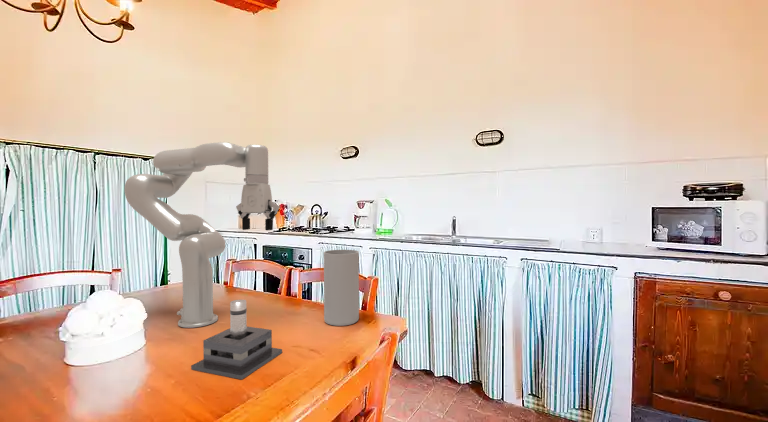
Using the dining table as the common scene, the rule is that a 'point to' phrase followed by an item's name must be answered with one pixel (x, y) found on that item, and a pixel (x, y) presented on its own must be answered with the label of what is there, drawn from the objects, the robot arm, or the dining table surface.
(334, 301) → the cylinder vase
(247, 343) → the collar stand
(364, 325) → the dining table surface
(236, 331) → the tube
